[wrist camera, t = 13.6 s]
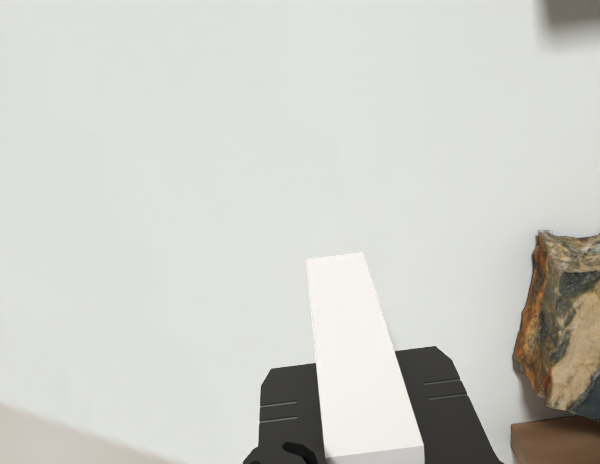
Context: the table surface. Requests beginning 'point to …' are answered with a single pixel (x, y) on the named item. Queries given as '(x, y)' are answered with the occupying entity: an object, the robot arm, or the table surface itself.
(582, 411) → the rock
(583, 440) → the box
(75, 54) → the table surface
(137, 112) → the table surface
